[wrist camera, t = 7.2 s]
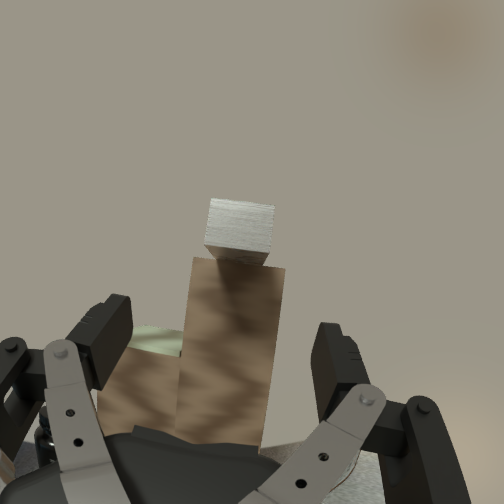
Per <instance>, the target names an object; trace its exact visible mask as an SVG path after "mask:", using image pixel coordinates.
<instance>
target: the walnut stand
mask: <svg viewBox="0 0 504 504" xmlns="http://www.w3.org/2000/svg"><path fill="white" fill-rule="evenodd" d="M284 276H285V269H283V268H276V267H268V266H260V265H252V264H244V263H236V262H229V261H221V260H213V259H205V258H198V257H194V258H193V264H192V271H191V278H190V285H189V294H188V300H187V308H186V316H185V325H184V332H182V331H176V330H170V329H164V328H159V327H154V326H148V325H144V326H140V327H137V328H133V334H132V338H131V340H130V342H129V344H128V345H127V347H126V349H125V351H124V352H123V354H122V356H121V358H120V359H119V361H118V363H117V365H116V366H115V368H114V370H113V372H112V374H111V375H110V377H109V379H108V381H107V383H106V384H105V386H104V388H103V390H102V391H99V390H97V415H98V418H99V420H100V423H101V426H102V429H103V432H104V434H105V436H108V435H112V434H116V433H126V432H131V433H132V431H133V428H134V425H138V426H142V427H146V428H150V429H155V430H159V431H163V432H166V433H168V434H170V435H173V436H175V437H177V438H179V439H182V440H184V441H187V442H189V443H192V444H212V443H236V444H245V445H255V446H259V448H258V454H259V453H260V447H261V441H262V434H263V428H264V422H265V416H266V410H267V403H268V397H269V389H270V383H271V376H272V369H273V362H274V354H275V348H276V340H277V333H278V325H279V317H280V310H281V302H282V293H283V285H284Z"/></svg>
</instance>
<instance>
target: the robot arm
mask: <svg viewBox="0 0 504 504" xmlns="http://www.w3.org/2000/svg"><path fill="white" fill-rule="evenodd" d="M132 334H133V320H132V310H131V301H130V298H129V297H128V296H123V295H118V294H111V295H110V297H109V298H108V299H107V300H106V301H105V303H99V304H97V305H95V306H93V307H92V308H90V310H89V311H88V312H87V313H86V314H85V316H84V317H83V318H82V319H81V321H80V322H79V323H78V324H77V325H76V326H75V327H74V329H73V330H72V331H71V332H70V333H69V335H68V336H67V337H66V338H65V339H61V340H56V341H53V342H51V343H49V344H48V345H47V346H46V348H45V349H44V350H38V349H28V348H27V345H26V342H25V341H24V340H23V339H22V338H19V337H10V338H7V339H5V340H3V341H2V342H1V343H0V504H320V503H321V502H322V500H323V499H324V498H325V497H326V495H327V494H328V493H329V492H330V490H331V489H332V488H333V486H334V485H335V484H336V482H337V481H338V480H339V478H340V477H341V475H342V474H343V473H344V471H345V470H346V468H347V467H348V465H349V464H350V463H351V461H352V460H353V458H354V457H355V455H356V454H357V452H358V451H359V450H364V451H368V452H373V453H378V459H379V465H380V470H381V476H382V483H383V489H384V496H385V503H386V504H471V501H470V497H469V494H468V490H467V487H466V483H465V480H464V477H463V474H462V471H461V468H460V465H459V462H458V459H457V456H456V453H455V450H454V448H453V445H452V442H451V440H450V436H449V434H448V431H447V429H446V426H445V423H444V421H443V418H442V416H441V413H440V411H439V408H438V406H437V405H436V403H435V402H434V401H432V400H431V399H430V398H427V397H424V396H413V397H411V398H410V399H409V400H408V402H407V403H406V404H401V403H397V402H393V401H389V400H386V397H385V395H384V393H383V392H382V391H381V390H380V389H379V388H377V387H375V386H373V385H371V384H370V381H369V378H368V375H367V372H366V369H365V366H364V363H363V361H362V358H361V355H360V354H359V353H360V352H359V349H358V347H357V344H356V343H355V342H354V341H353V340H352V339H351V337H350V336H343V334H342V331H341V328H340V325H339V324H337V323H325V322H321V323H320V325H319V328H318V332H317V336H316V339H315V342H314V346H313V349H312V353H311V370H312V376H313V383H314V389H315V396H316V403H317V410H318V418H319V425H318V426H317V428H316V429H315V430H314V431H313V432H312V433H311V434H310V436H309V437H308V438H307V439H306V440H305V441H304V442H303V443H302V444H301V446H300V447H299V448H298V449H297V450H296V451H295V452H294V453H293V454H292V455H291V456H290V457H289V458H288V459H287V460H286V461H285V462H284V464H283V465H281V464H279V463H278V462H276V461H274V460H272V459H270V458H268V457H265V456H263V455H260V454H258V448H259V446H255V445H245V444H236V443H212V444H192V443H189V442H187V441H184V440H182V439H179V438H177V437H175V436H173V435H170V434H168V433H166V432H163V431H159V430H155V429H150V428H146V427H142V426H138V425H134V428H133V431H132V433H131V432H126V433H116V434H112V435H108V436H105V434H104V432H103V429H102V426H101V423H100V420H99V418H98V415H97V412H96V409H95V405H94V403H93V399H92V396H91V393H90V391H91V389H92V388H93V389H96V390H99V391H102V390H103V388H104V386H105V384H106V383H107V381H108V379H109V377H110V375H111V374H112V372H113V370H114V368H115V366H116V365H117V363H118V361H119V359H120V358H121V356H122V354H123V352H124V351H125V349H126V347H127V345H128V344H129V342H130V340H131V338H132ZM11 386H12V387H13V391H12V392H11V394H10V395H9V397H8V398H7V400H6V401H5V403H4V397H5V395H6V393H7V392H8V390H9V389H10V387H11ZM44 402H46V406H47V412H48V418H49V423H50V428H51V433H52V438H53V442H54V446H55V451H56V455H57V458H58V460H57V461H55V462H53V463H50V464H48V465H46V466H44V467H42V468H40V469H37V470H35V471H33V472H31V473H28V474H26V475H24V476H21V477H19V478H17V479H15V477H14V475H15V468H14V464H13V460H14V458H15V456H16V454H17V452H18V450H19V448H20V446H21V444H22V442H23V440H24V438H25V436H26V434H27V433H28V430H29V429H30V427H31V425H32V423H33V421H34V419H35V418H36V416H37V414H38V412H39V410H40V409H41V407H42V405H43V403H44Z"/></svg>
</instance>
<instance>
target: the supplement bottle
mask: <svg viewBox="0 0 504 504" xmlns="http://www.w3.org/2000/svg"><path fill="white" fill-rule="evenodd" d="M39 418H40V419H39V423H40V426H39V427H38V428H37V429H36V431H35V434H34V438H35V446H36V452H37V458H38V463H39V468H42V467H44V466H46V465H48V464H50V463H53V462H55V461H57V460H58V458H57V455H56V451H55V446H54V442H53V438H52V433H51V428H50V423H49V418H48V412H47V406H43V407H42V408H41V409H40V410H39Z"/></svg>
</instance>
